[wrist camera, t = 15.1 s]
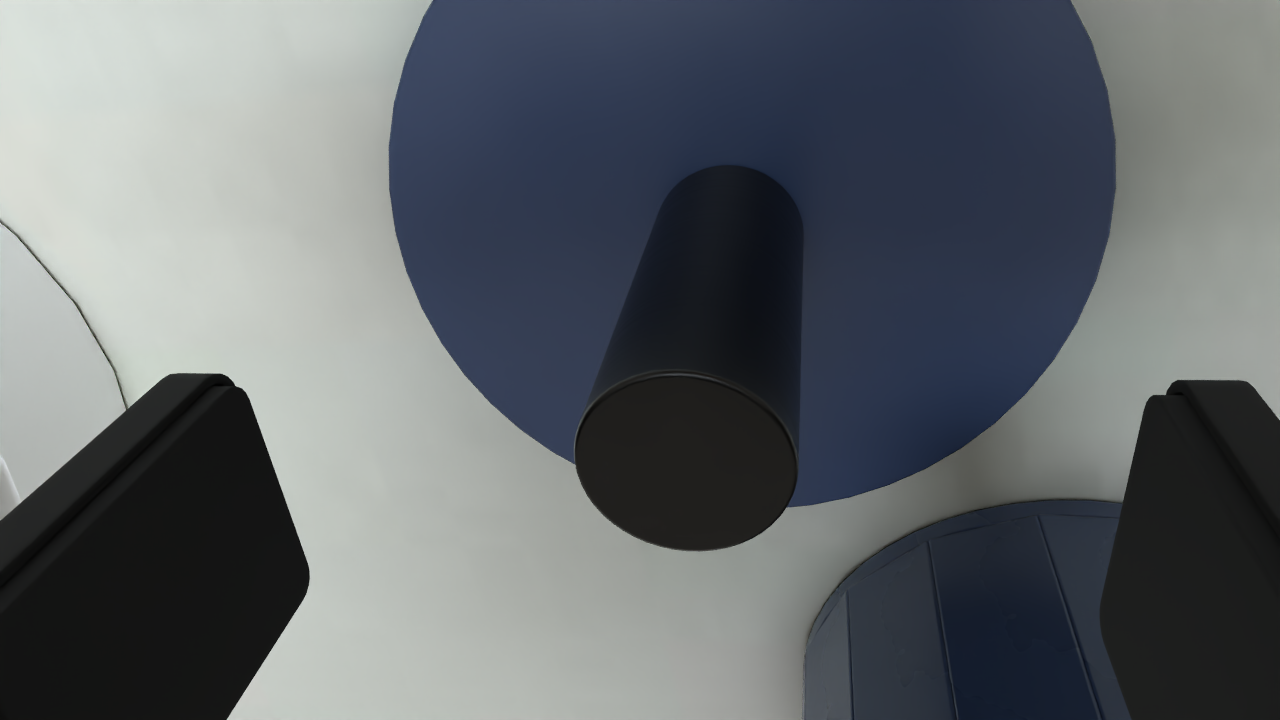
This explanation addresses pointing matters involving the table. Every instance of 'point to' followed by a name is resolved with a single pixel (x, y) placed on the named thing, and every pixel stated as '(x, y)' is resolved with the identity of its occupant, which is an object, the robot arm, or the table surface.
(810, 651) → the pot
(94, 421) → the honey pot
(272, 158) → the table surface
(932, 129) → the lid
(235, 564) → the robot arm
